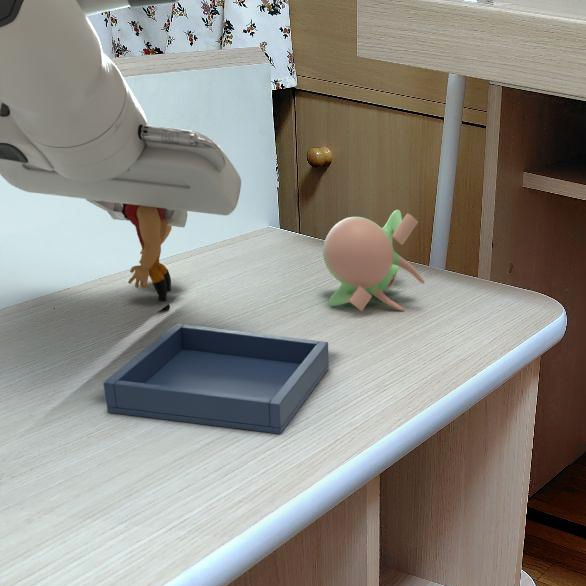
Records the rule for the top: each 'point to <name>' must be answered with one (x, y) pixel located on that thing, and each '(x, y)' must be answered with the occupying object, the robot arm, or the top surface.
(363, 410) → the top surface
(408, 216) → the pink green toy creature
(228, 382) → the blue tray
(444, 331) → the top surface
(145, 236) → the action figure
